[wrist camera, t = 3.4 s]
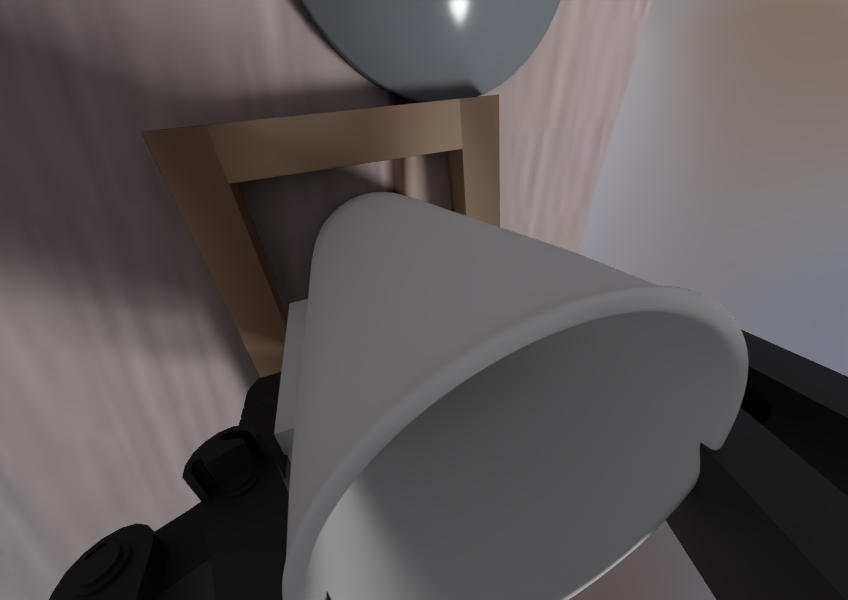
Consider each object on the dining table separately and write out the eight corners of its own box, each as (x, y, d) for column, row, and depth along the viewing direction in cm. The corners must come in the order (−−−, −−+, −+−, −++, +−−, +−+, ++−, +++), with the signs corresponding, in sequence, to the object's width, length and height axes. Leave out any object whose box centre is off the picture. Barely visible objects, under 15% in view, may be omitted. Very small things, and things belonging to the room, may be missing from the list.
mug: (316, 165, 12) (325, 227, 2) (464, 202, 14) (831, 315, 4) (294, 375, 15) (254, 811, 5) (416, 374, 18) (553, 667, 8)
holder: (300, 436, 17) (299, 459, 16) (161, 135, 10) (140, 131, 9) (488, 369, 20) (500, 383, 19) (479, 100, 13) (498, 94, 12)
